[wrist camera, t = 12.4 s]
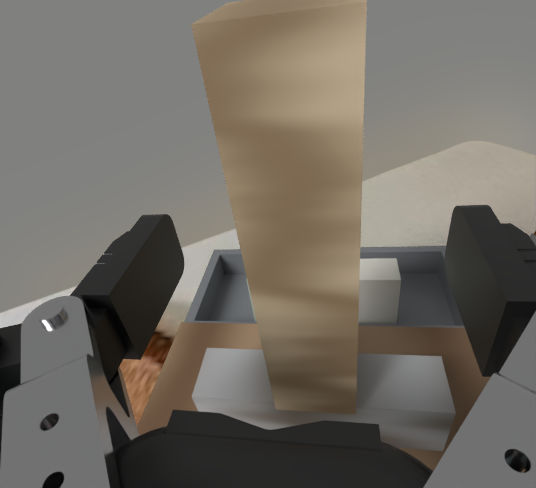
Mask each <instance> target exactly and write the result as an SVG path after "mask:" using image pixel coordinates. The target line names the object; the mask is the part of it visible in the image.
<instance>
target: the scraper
mask: <svg viewBox="0 0 536 488" xmlns="http://www.w3.org/2000/svg"><path fill="white" fill-rule="evenodd" d="M366 7H367V1H366V0H244V1H237V2H229V3H227V4H225V5H223V6H222V7H220V8H218V9H217V10H215V11H213V12H211V13H210V14H208V15H206V16H205V17H203V18H201V19H200V20H198V21H196V22H194V23H193V24H192V30H193V34H194V39H195V43H196V48H197V53H198V57H199V62H200V65H201V71H202V75H203V80H204V84H205V89H206V94H207V98H208V103H209V107H210V112H211V116H212V120H213V125H214V130H215V135H216V139H217V144H218V148H219V153H220V158H221V162H222V167H223V171H224V176H225V180H226V185H227V189H228V194H229V198H230V203H231V208H232V212H233V217H234V221H235V226H236V231H237V235H238V240H239V244H240V249H241V253H242V258H243V263H244V267H245V272H246V276H247V281H248V285H249V290H250V294H251V299H252V304H253V308H254V313H255V317H256V322H257V326H258V331H259V336H260V340H261V345H262V349H263V350H253V349H226V348H207V349H206V352H205V356H204V359H203V362H202V365H201V368H200V372H199V375H198V378H197V381H196V384H195V388H194V391H193V394H192V399H193V401H194V403H195V405H196V407H197V410H198V411H200V412H214V413H221V414H224V415H227V416H230V417H233V418H235V419H238V420H241V421H244V422H247V423H249V424H252V425H255V426H258V427H261V428H263V429H268V430H273V429H279V428H285V427H290V426H296V425H301V424H307V423H312V422H318V421H323V420H327V421H341V422H355V423H369V424H379V429H380V439H381V441H382V442H384V443H387V444H390V445H393V446H395V447H397V448H408V449H421V450H433V451H443V450H444V447H445V444H446V441H447V438H448V435H449V432H450V429H451V426H452V423H453V420H454V417H455V414H456V412H455V408H454V404H453V400H452V396H451V392H450V388H449V384H448V380H447V377H446V373H445V369H444V365H443V361H442V357H441V356H419V355H392V354H364V353H358V316H359V277H360V239H361V200H362V162H363V124H364V85H365V84H364V83H365V46H366Z"/></svg>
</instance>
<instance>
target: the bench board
mask: <svg viewBox="0 0 536 488" xmlns="http://www.w3.org/2000/svg"><path fill="white" fill-rule="evenodd" d="M207 348H226V349H253V350H263V349H262V345H261V340H260V336H259V331H258V326H257V324H242V323H191V322H181V325H180V327H179V329H178V332H177V334H176V336H175V339H174V341H173V344H172V346H171V348H170V351H169V353H168V355H167V358H166V360H165V363H164V365H163V367H162V370H161V372H160V374H159V377H158V379H157V382H156V384H155V386H154V389H153V391H152V393H151V396H150V398H149V401H148V403H147V405H146V408H145V410H144V412H143V415H142V417H141V420H140V422H139V424H138V427H137V429H138V431H139V434H140V435H142V434H144V433H146V432H149V431H151V430H154V429H157V428H161V427H164V426H167V425H168V422H169V419H170V416H171V414H172V411H173V410H186V411H198V410H197V407H196V405H195V403H194V401H193V399H192V394H193V391H194V388H195V384H196V381H197V378H198V375H199V372H200V368H201V365H202V362H203V359H204V356H205V352H206V349H207ZM358 353H364V354H392V355H419V356H441V357H442V361H443V365H444V369H445V373H446V377H447V380H448V384H449V388H450V392H451V396H452V400H453V404H454V408H455V412H456V414H455V417H454V420H453V423H452V426H451V429H450V432H449V435H448V438H447V441H446V444H445V447H444V450H443V451H433V450H421V449H408V448H399V449H401V450H403V451H405V452H407V453H408V454H410V455H412V456H413V457H415V458H417V459H418V460H420V461H421V462H422V463H423V464H425V465H426V466H427V467H429V468H430V469H431V470H432V471H434V469H435V468H436V466H437V465H438V463H439V461H440V460H441V458H442V456H443V455H444V453H445V451H446V450H447V448H448V447H449V445H450V443H451V442H452V440H453V438H454V437H455V435H456V433H457V432H458V430H459V428H460V427H461V425H462V424H463V422H464V420H465V419H466V417H467V415H468V414H469V412H470V410H471V409H472V407H473V406H474V404H475V402H476V401H477V399H478V397H479V396H480V394H481V392H482V391H483V389H484V388H485V386H486V384H487V383H488V381H489V379H490V378H491V377H482V375H481V372H480V369H479V366H478V363H477V361H476V358H475V355H474V352H473V349H472V347H471V344H470V341H469V338H468V335H467V332H466V330H465V328H445V327H394V326H358Z"/></svg>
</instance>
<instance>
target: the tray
mask: <svg viewBox="0 0 536 488" xmlns="http://www.w3.org/2000/svg"><path fill="white" fill-rule="evenodd" d="M445 251H446V246H418V247H360V259H373V258H396V259H397V263H398V268H399V273H400V277H401V286H400V295H399V304H398V314H397V323H396V325H394V324H358V326H394V327H445V328H465V327H464V324H463V321H462V318H461V315H460V313H459V310H458V307H457V304H456V301H455V299H454V296H453V293H452V290H451V287H450V284H449V282H448V279H447V276H446V272H445ZM246 279H247V276H246V272H245V267H244V263H243V258H242V253H241V249H238V250H214V252H213V254H212V256H211V259H210V261H209V264H208V266H207V268H206V271H205V273H204V276H203V278H202V281H201V283H200V285H199V288H198V290H197V293H196V295H195V297H194V300H193V302H192V305H191V307H190V310H189V312H188V314H187V317H186V319H185V322H191V323H242V324H257V322H255V319H254V314H253V310H252V305H251V300H250V295H249V290H248V285H247V280H246Z"/></svg>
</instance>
